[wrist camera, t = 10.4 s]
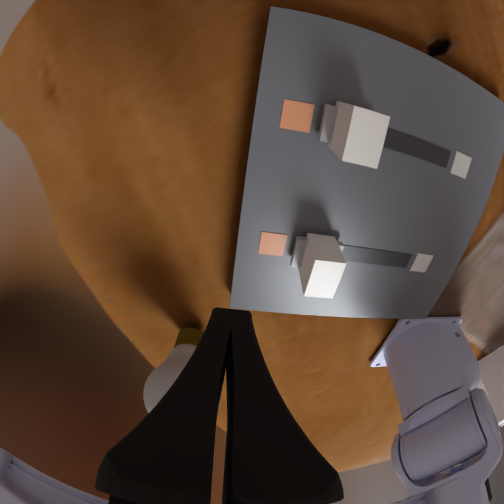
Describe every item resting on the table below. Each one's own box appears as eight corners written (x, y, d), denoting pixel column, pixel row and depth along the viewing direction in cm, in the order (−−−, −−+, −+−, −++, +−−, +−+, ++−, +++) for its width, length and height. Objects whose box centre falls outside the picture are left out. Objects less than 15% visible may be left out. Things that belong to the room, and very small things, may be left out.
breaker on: (343, 237, 17) (356, 264, 15) (332, 270, 19) (341, 299, 16) (297, 231, 17) (304, 258, 15) (289, 266, 18) (293, 295, 16)
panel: (500, 105, 12) (513, 110, 11) (419, 307, 23) (425, 319, 22) (269, 12, 11) (270, 6, 10) (230, 294, 22) (229, 308, 21)
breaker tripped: (377, 112, 13) (401, 120, 10) (367, 155, 14) (387, 171, 12) (325, 98, 13) (341, 102, 10) (316, 144, 14) (329, 158, 12)
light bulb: (172, 298, 23) (142, 406, 14) (236, 322, 24) (230, 430, 16) (156, 335, 26) (132, 428, 17) (212, 355, 27) (201, 447, 19)
